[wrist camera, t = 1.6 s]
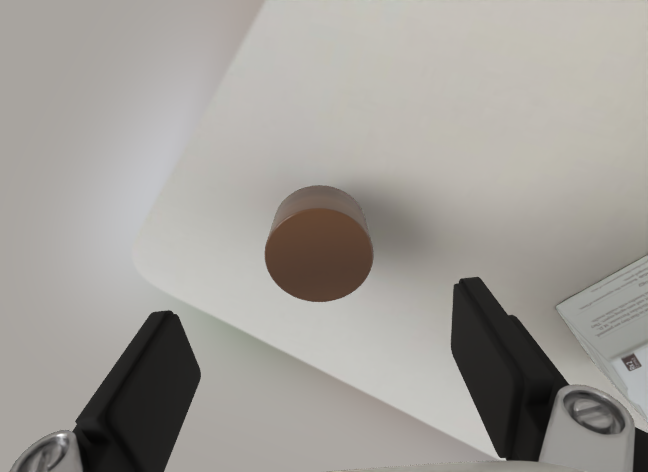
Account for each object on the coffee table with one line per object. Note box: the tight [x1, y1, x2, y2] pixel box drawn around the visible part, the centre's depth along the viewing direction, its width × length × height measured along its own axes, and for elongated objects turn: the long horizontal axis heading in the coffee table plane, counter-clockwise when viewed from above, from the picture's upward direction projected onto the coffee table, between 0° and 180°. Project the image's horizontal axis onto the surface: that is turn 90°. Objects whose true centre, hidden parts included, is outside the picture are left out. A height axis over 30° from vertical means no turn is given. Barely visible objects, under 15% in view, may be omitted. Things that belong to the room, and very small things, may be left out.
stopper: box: [265, 185, 373, 302], centre depth 17 cm, size 5×5×6 cm
